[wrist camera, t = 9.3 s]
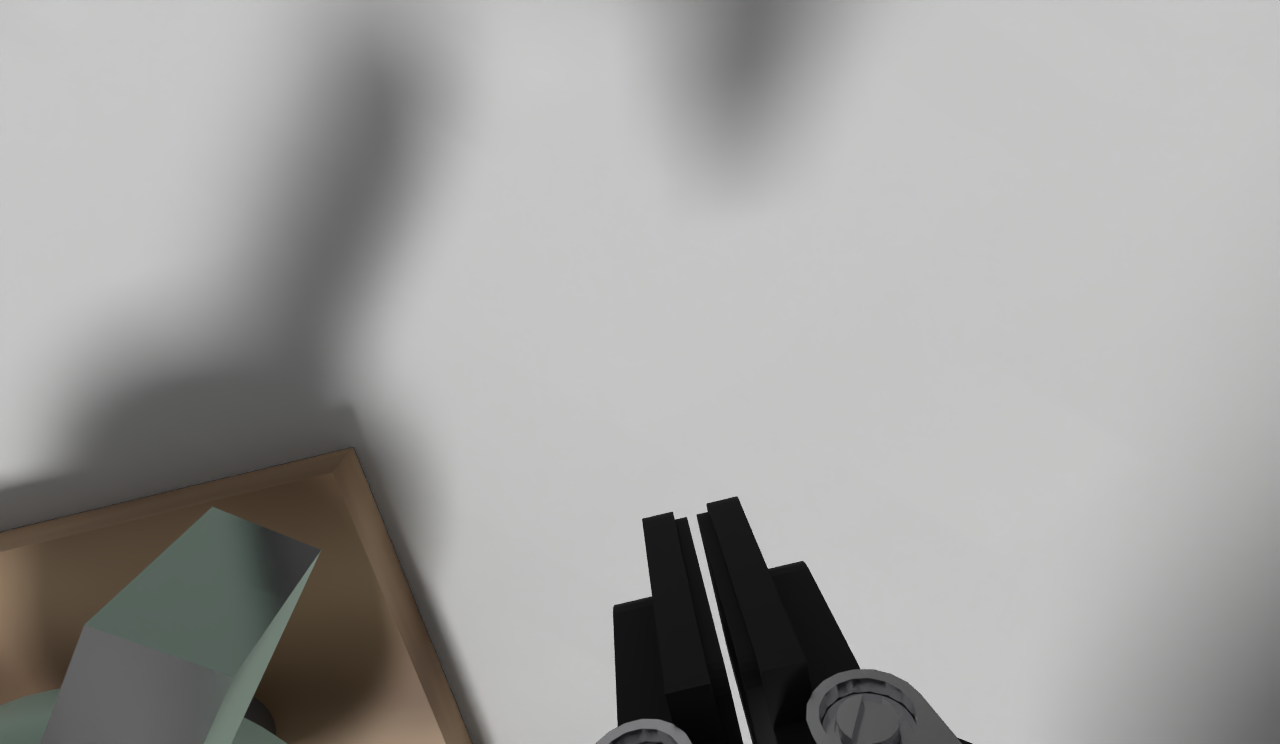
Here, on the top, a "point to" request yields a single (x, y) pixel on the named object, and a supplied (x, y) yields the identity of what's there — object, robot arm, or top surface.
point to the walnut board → (315, 633)
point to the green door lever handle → (176, 645)
